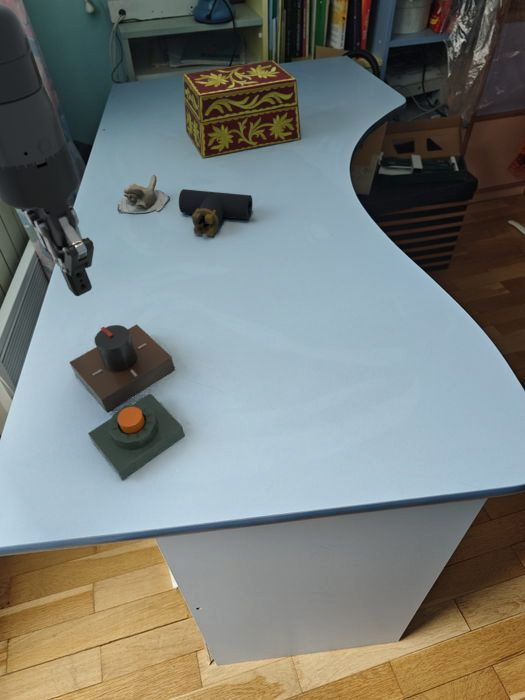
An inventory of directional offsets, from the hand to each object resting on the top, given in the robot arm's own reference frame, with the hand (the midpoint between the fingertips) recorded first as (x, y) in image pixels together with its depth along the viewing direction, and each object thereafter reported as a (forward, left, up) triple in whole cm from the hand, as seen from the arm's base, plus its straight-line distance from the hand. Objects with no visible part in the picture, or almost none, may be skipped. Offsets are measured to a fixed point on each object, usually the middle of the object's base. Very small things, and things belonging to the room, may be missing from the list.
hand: (81, 290), depth 57 cm
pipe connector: (+39, +29, -21) cm, 53 cm away
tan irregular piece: (+33, +47, -21) cm, 61 cm away
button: (-2, -7, -17) cm, 19 cm away
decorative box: (+72, +58, -21) cm, 95 cm away
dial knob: (+3, +5, -18) cm, 19 cm away
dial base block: (+3, +5, -21) cm, 22 cm away
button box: (-2, -7, -21) cm, 22 cm away
